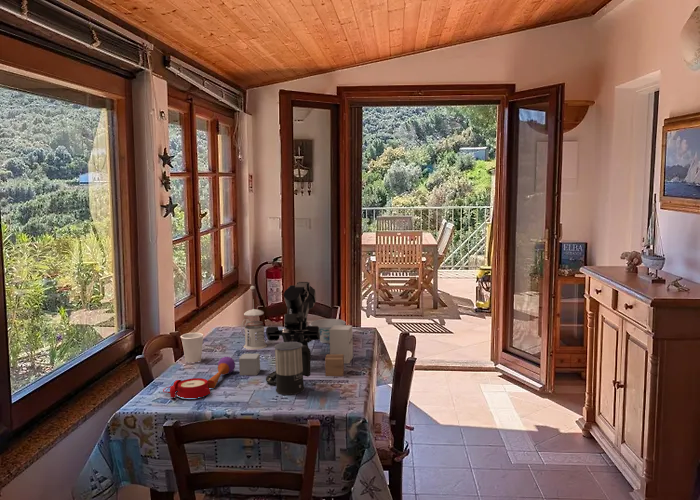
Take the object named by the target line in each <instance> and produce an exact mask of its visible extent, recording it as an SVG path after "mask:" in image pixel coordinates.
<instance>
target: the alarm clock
mask: <svg viewBox="0 0 700 500" xmlns="http://www.w3.org/2000/svg"><path fill="white" fill-rule="evenodd" d="M208 383H212V382H208V379H205V378H203V377H193V378H187V379H184V380H181V379H177V380H175V381H174V382H173V385H171V386H166V387H165V388H163V389H162V390H163V391H162V392H163V393H167V394H170V395H169V396H170V398H171V397H173V398H174V397H176V398H177V396H176V394H177V395H178V396H180V397H184V398H198V397H203V396H206V395H208V394H209V395H211V394H210V393H211V389H209V388H208ZM213 383H214V381H213ZM168 388H170V389H169V391H165V390H166V389H168ZM176 391H178V392H176ZM175 392H176V393H175ZM209 395H208V396H209ZM206 397H207V396H206ZM203 398H204V397H203Z"/></svg>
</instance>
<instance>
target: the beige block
mask: <svg viewBox="0 0 700 500" xmlns="http://www.w3.org/2000/svg"><path fill="white" fill-rule="evenodd" d="M260 358H261V354H260V353H242V354H241V355H240V356H239V359H238V362H239V363H238V367H239V376H258V374H259V373H260V371H261V359H260Z"/></svg>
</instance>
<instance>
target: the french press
mask: <svg viewBox="0 0 700 500" xmlns="http://www.w3.org/2000/svg"><path fill="white" fill-rule="evenodd" d="M249 288H250V290H252V291H254V290H255V289H256V287H255V285H251V286H250V287H249ZM254 303H255V302H254V300H252V306H253V307H252V309H249V310H247V311H245V312H244V313H243V316H244V317H259V316H262V315H264V313H265V312H264V311H263V310H261V309H257V308H256V309H255V304H254ZM245 321H246V322H245ZM244 322H245V323H244ZM243 323H244V331H241V333H242V335H243V337H244V340H245V341H244V342H245V344H244V345H243V347H244V348H246V349H245V350H249V351H250V350H251V351H252V350H254V351H255V350H261V349H265V348H266V346H267V347H268V345H267V343H266V341H265V339H266V338H265V326H264V325H263V323H264V322H263V321H260V320H252V321H250V318H248V319H246V318H244V319H243V320H242V322H241V328H240V329H243ZM244 348H243V349H244Z"/></svg>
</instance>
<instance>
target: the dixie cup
mask: <svg viewBox="0 0 700 500" xmlns="http://www.w3.org/2000/svg"><path fill="white" fill-rule="evenodd" d="M180 339H181V342H182V344H181V345H182V348H183V355H184V359H185V362H186V361H187V362H198V361H200V362H202V354H203V343H204V342H203V339H204V334H203V333H201V332H188V333H183V334H182V335H180ZM198 363H199V362H198Z"/></svg>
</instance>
